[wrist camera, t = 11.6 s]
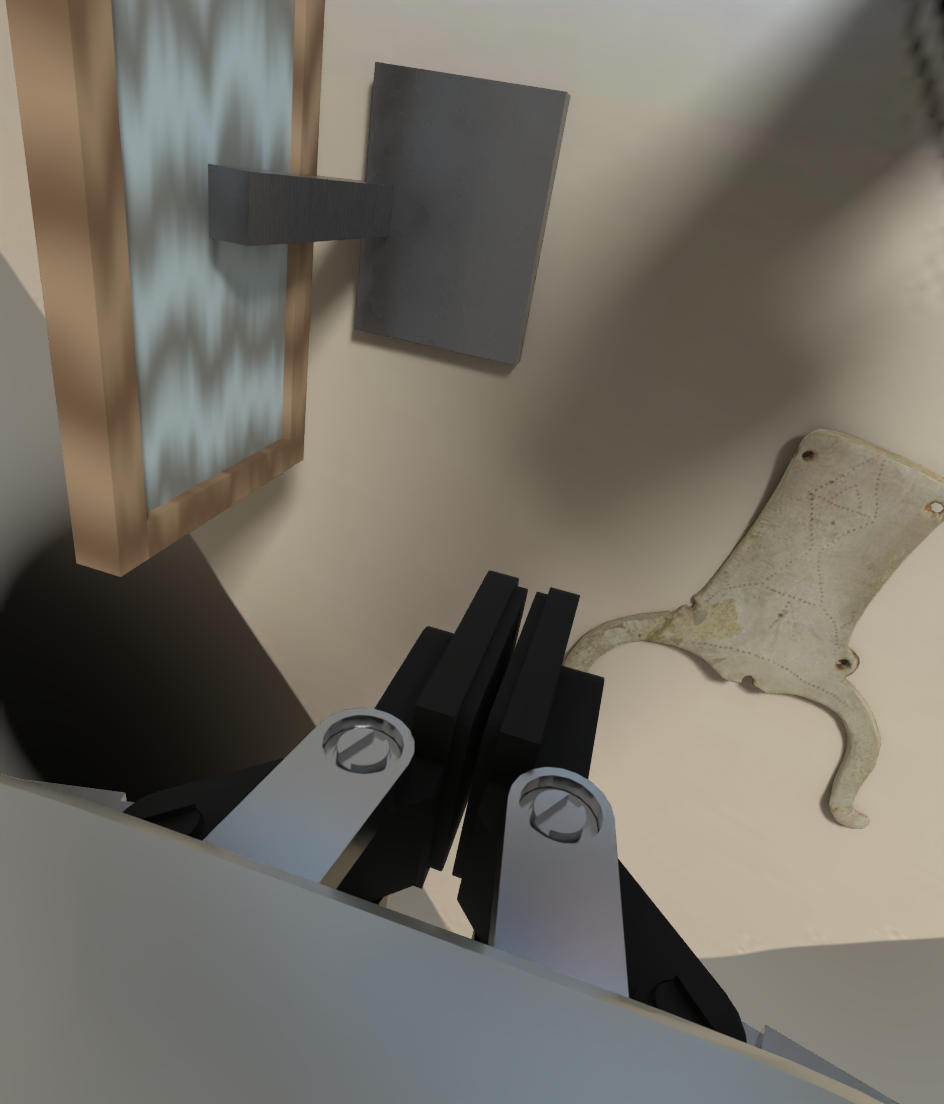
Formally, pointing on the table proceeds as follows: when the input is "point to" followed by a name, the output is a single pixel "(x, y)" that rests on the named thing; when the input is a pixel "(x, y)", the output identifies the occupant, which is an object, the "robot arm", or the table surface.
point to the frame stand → (424, 208)
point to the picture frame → (166, 253)
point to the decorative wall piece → (803, 588)
